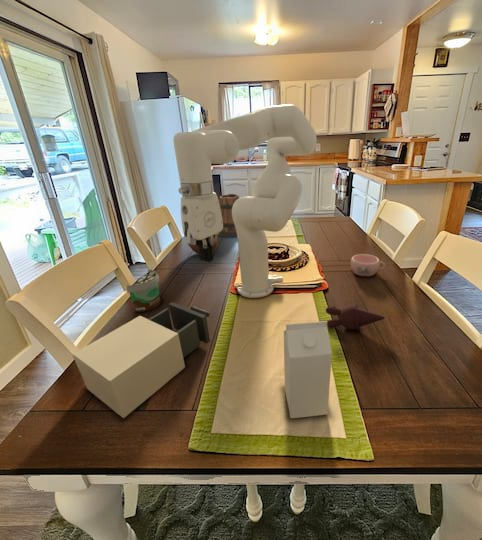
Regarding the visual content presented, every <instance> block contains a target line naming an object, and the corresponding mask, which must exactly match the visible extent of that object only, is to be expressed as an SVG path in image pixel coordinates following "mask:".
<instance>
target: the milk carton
mask: <svg viewBox="0 0 482 540" xmlns="http://www.w3.org/2000/svg"><path fill="white" fill-rule="evenodd" d="M327 321H328V320H321V321H312V322H311V321H310V322H299V323H298V322H297V323H288V324H286V325H285V328H286V329H284V330H283V363H284V366H283V370H284V391H285V396H286V403H287V408H288V413H289V418H290V419H298V418H306V417H307V418H308V417H317V416H326V415H328V412H329V410H328V409H329V399H330V383H331V371H332V354H333V351H332V345H331V340H330V335H329V330H328V326H327Z"/></svg>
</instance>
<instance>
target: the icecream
mask: <svg viewBox="0 0 482 540" xmlns="http://www.w3.org/2000/svg"><path fill="white" fill-rule="evenodd" d="M325 312H326V314H328V315H330V316H335V317H336V316H337V318H332V319H329V320H326V321H327V328H336V327H340V326H342V327H344V328H345V329H347V330H352V331H353V330H356V331H358V330H359V328H361V327H363V326H367V325H370V324H372V323H373V324H374V323H377V322H379V321H382V320H383V321H384V320H385V318H386V317H385V316H383V315H381V314H378V313H375V312H373V311H369V310H367V309H363V308H360V307H358V305H357V304H354V305H353V304H351V305H350V304H349V305H346V306H344V307H342V308H341V309H340V308H338V307H336V306H335V305H334V306H333V305H332V306H327V307H326V308H325Z"/></svg>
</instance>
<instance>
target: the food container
mask: <svg viewBox="0 0 482 540" xmlns="http://www.w3.org/2000/svg"><path fill="white" fill-rule="evenodd" d="M160 279H161V278H160V276H159V274H158V273H157V271H156V270H154V269H151V268H149V269H148V268H147V272H146V273H145V274H144V275H142V276H140V277H139V278H138V279H136V281H135V282H134V283H132V284H129V285H127V284H126V292H127V293H129V296H130V299H131V301H132V304H133V307H134V309H135V312H136V313H144V312H145V313H146V312H148V311H149V312H150V311H151V310H154V309H156V308H158V306H160V304H161V295H160V294H161V293H160V286H159V282H160Z"/></svg>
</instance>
